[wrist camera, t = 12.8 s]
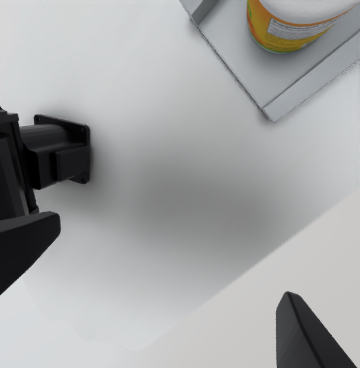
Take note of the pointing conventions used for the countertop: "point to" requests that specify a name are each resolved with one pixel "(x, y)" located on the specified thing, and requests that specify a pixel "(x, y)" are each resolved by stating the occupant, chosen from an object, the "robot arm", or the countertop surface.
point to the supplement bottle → (293, 21)
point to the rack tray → (275, 55)
